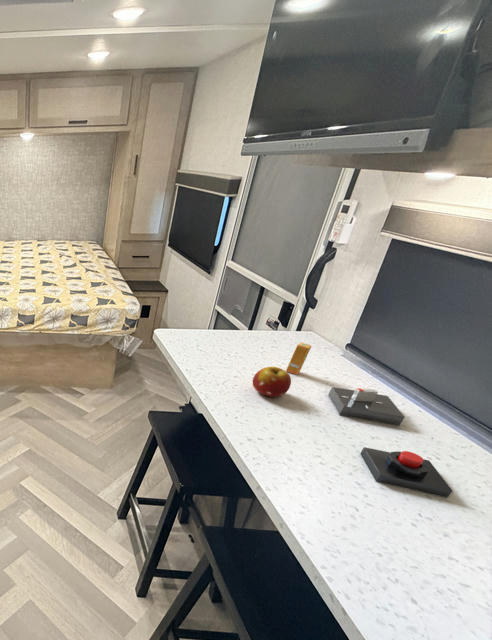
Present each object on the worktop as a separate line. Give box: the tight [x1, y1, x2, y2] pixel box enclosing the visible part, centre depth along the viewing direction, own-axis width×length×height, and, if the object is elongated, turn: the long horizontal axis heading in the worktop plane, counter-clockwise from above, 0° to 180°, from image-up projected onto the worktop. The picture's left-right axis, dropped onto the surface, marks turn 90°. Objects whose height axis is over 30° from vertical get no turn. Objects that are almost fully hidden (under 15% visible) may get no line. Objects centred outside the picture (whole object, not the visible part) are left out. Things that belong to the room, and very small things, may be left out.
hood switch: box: [359, 446, 453, 499], centre depth 89 cm, size 12×10×4 cm
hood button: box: [398, 450, 424, 468], centre depth 88 cm, size 4×4×2 cm
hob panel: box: [327, 386, 406, 427], centre depth 111 cm, size 13×11×3 cm
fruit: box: [252, 366, 292, 398], centre depth 118 cm, size 10×9×8 cm
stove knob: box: [351, 387, 379, 402], centre depth 110 cm, size 5×1×3 cm, turn 84°
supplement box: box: [285, 342, 312, 376], centre depth 129 cm, size 3×3×10 cm
